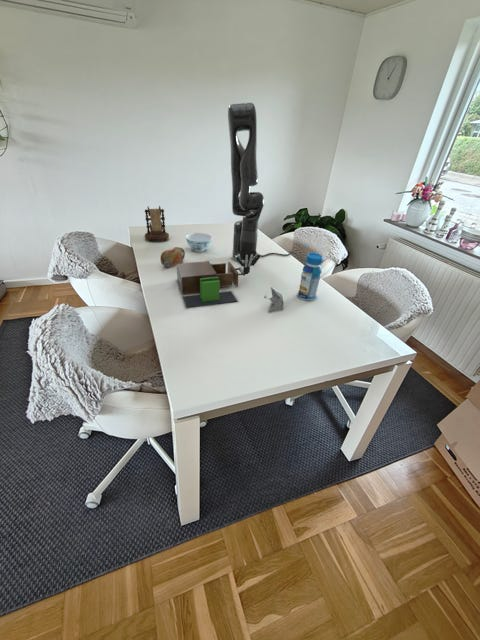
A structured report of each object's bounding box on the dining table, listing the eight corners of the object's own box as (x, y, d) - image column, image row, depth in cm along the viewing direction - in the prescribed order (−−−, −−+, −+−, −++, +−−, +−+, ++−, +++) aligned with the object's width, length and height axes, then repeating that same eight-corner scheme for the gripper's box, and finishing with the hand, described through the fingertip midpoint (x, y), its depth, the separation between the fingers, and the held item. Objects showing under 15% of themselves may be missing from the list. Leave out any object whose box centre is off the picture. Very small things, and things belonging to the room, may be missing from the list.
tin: (164, 269, 154) (162, 253, 150) (160, 267, 156) (158, 252, 151) (185, 261, 164) (184, 246, 160) (181, 259, 166) (180, 244, 161)
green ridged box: (216, 295, 134) (217, 275, 129) (219, 300, 131) (219, 279, 125) (200, 297, 132) (199, 276, 126) (202, 302, 129) (202, 281, 123)
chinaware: (216, 249, 182) (217, 236, 177) (201, 256, 171) (201, 243, 167) (197, 243, 188) (197, 231, 184) (181, 250, 177) (180, 237, 173)
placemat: (230, 291, 138) (230, 291, 138) (236, 301, 131) (237, 300, 131) (183, 297, 132) (183, 296, 132) (186, 307, 125) (186, 306, 125)
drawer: (238, 273, 153) (239, 261, 149) (247, 285, 143) (248, 272, 139) (201, 276, 147) (201, 264, 144) (207, 289, 137) (207, 276, 133)
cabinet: (208, 277, 150) (208, 261, 145) (216, 291, 138) (216, 274, 134) (177, 280, 145) (176, 263, 140) (182, 294, 134) (181, 277, 129)
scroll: (146, 243, 183) (142, 209, 171) (143, 235, 194) (139, 203, 183) (171, 241, 187) (168, 208, 176) (166, 234, 199) (164, 202, 188)
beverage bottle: (315, 302, 135) (325, 260, 124) (297, 299, 136) (304, 257, 125) (315, 293, 142) (324, 253, 131) (297, 291, 143) (305, 250, 132)
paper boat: (286, 311, 125) (266, 307, 122) (279, 317, 130) (260, 313, 128) (287, 286, 130) (267, 281, 127) (280, 293, 135) (261, 288, 133)
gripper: (237, 242, 132) (235, 278, 142) (265, 240, 136) (261, 275, 146) (232, 237, 138) (231, 271, 148) (259, 235, 142) (255, 269, 152)
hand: (246, 273), depth 147 cm, fingers closed
